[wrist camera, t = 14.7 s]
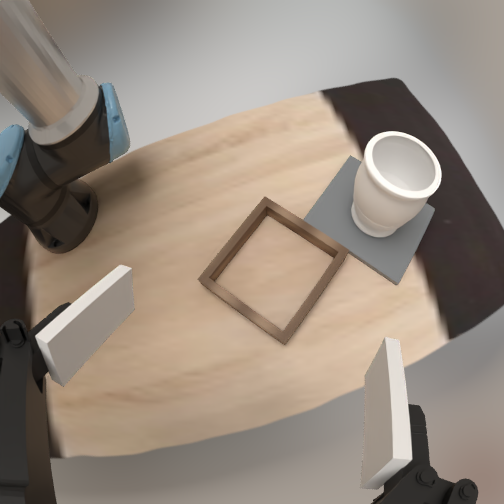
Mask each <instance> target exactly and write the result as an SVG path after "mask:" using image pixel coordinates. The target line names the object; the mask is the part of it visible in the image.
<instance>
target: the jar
mask: <svg viewBox="0 0 504 504" xmlns="http://www.w3.org/2000/svg"><path fill="white" fill-rule="evenodd" d="M440 182H441V169H440V165H439V162H438V160H437V158H436V157H435V155H434V154H433V152H432V151H431V150H430V149H429V148H428V147H427V146H426V145H425V144H424V143H422V142H421V141H420V140H418V139H416V138H415V137H413V136H410V135H408V134H405V133H401V132H383V133H380V134H378V135H376V136H374V137H373V138H372V139H371V140H370V141H369V143H368V145H367V146H366V149H365V153H364V159H363V161H362V162H361V164H360V166H359V168H358V171H357V174H356V178H355V183H354V195H353V201H354V202H353V204H352V208H351V213H352V218H353V220H354V222H355V224H356V225H357V227H358V228H359V229H360V230H361V231H363V232H364V233H366V234H367V235H370V236H373V237H387V236H389V235H391V234H393V233H394V232H395V231H396V230H397V228H399V227H401V226H403V225H404V224H405V223H406V222H408V221H410V220H411V219H412V218H414V217H415V216H416V215H417V214H418V213H419V212H420V210H421V209H422V208H423V206H424V205H425V203H426V201H427V199H428V197H429V196H431V195H432V194H433V193H434V192H435V191H436V190H437V188H438V187H439V185H440Z"/></svg>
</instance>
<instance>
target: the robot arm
mask: <svg viewBox="0 0 504 504" xmlns="http://www.w3.org/2000/svg"><path fill="white" fill-rule="evenodd" d="M0 93H1V94H2V95H3V96H4V97H5V98H6V99H7V100H8V101H9V102H10V103H11V104H12V105H13V106H14V107H15V108H16V109H17V110H18V111H19V112H20V113H21V114H22V115H23V116H24V117H25V118H26V119H27V120H28V121H29V125H28V129H27V130H24V128H23V127H22V126H19V125H17V124H16V125H11V126H9V127H7V128H6V129H5V130H4V131H2V132H1V134H0V207H1V208H3V209H4V210H5V211H7V212H8V213H10V214H11V215H13V216H14V217H16V218H17V219H19V220H20V221H21V222H23V223H25V224H26V225H27V226H28V227H29V228H30V230H31V232H32V233H33V235H34V236H35V238H36V239H37V241H38V242H39V244H40V245H41V246H43V247H44V248H46V249H47V250H49V251H51V252H53V253H64V252H67V251H70V250H72V249H73V248H75V247H76V246H78V245H79V244H80V243H81V242H82V241H83V240H84V239H85V237H86V236H87V235H88V233H89V232H90V230H91V228H92V226H93V224H94V222H95V219H96V215H97V209H98V203H97V198H96V195H95V193H94V191H93V190H92V189H91V188H90V187H89V186H88V185H87V184H86V183H85V182H83V181H81V180H78V179H79V178H80V177H82V176H84V175H86V174H88V173H90V172H92V171H94V170H96V169H98V168H100V167H102V166H104V165H106V164H108V163H111V162H112V161H113V160H114V159H116V158H118V157H119V156H121V155H123V154H125V153H126V152H127V151H128V149H129V147H130V138H129V134H128V130H127V127H126V123H125V120H124V116H123V113H122V110H121V107H120V104H119V100H118V97H117V94H116V92H115V89H114V87H113V85H112V84H111V83H105V84H104V83H103V84H101V85H100V86H98V85H97V83H96V81H95V80H94V79H93V78H91V77H89V76H85V75H77V74H76V72H75V71H74V69H73V68H72V67H71V65H70V64H69V62H68V61H67V59H66V58H65V56H64V55H63V53H62V52H61V50H60V49H59V47H58V46H57V44H56V42H55V41H54V39H53V38H52V36H51V35H50V33H49V32H48V30H47V29H46V27H45V25H44V24H43V22H42V21H41V19H40V18H39V16H38V14H37V13H36V12H35V10H34V8H33V6H32V5H31V3H30V2H29V0H0ZM134 310H135V308H134V296H133V281H132V268H130V267H126V266H123V265H119V266H118V267H116V268H115V269H114V270H113V271H111V272H110V273H109V274H108V275H106V276H105V277H104V278H103V279H101V280H100V281H99V282H98V283H97V284H95V285H94V286H93V287H92V288H90V289H89V290H88V291H87V292H86V293H84V294H83V295H82V296H81V297H80V298H78V299H77V300H76V301H75V302H74V303H72V304H71V303H69V302H68V303H65V304H63V305H61V306H59V307H57V308H56V309H55V310H54V311H53V312H52V313H50V314H49V315H48V316H47V317H46V318H44V319H43V320H42V321H41V322H40V323H39V324H37V325H36V326H35V327H34V328H33V329H32V330H30V331H29V332H27V329H26V326H25V324H24V322H23V321H22V320H19V319H11V320H8V321H6V322H5V323H4V324H3V325H2V326H1V328H0V331H1V334H2V336H1V335H0V504H57V503H56V497H55V491H54V486H53V479H52V472H51V463H50V455H49V444H48V431H47V412H46V378H45V374H46V373H47V372H48V371H49V374H50V376H51V378H52V380H54V381H55V382H57V383H58V384H60V385H61V386H63V387H64V386H65V385H66V383H67V382H68V381H69V380H70V379H71V378H72V377H73V376H74V374H75V373H76V372H77V371H78V370H79V369H80V368H81V367H82V366H83V364H84V363H85V362H86V361H87V360H88V359H89V358H90V357H91V356H92V355H93V354H94V352H95V351H96V350H97V349H98V348H99V347H100V346H101V345H102V344H103V343H104V342H105V340H106V339H107V338H108V337H109V336H110V335H111V334H112V333H113V332H114V331H115V330H116V329H117V328H118V327H119V326H120V324H121V323H122V322H123V321H124V320H125V319H126V318H127V317H128V316H129V315H130V314H131V313H132V312H133V311H134ZM426 434H427V430H426V421H425V415H424V413H423V411H422V409H421V407H420V406H419V405H411V404H408V399H407V391H406V382H405V376H404V368H403V361H402V354H401V348H400V342H399V340H397V339H392V338H388V337H385V338H384V340H383V342H382V344H381V346H380V348H379V350H378V352H377V354H376V356H375V358H374V359H373V361H372V363H371V365H370V367H369V369H368V371H367V372H366V374H365V416H364V444H363V460H362V474H361V485H360V488H366V489H379V488H380V487H381V486H382V485H384V492H383V493H382V494H381V495H379V496H378V497H377V498H376V499H374V500H373V501H374V502H373V503H371V504H476V500H477V497H478V489H477V486H476V485H475V483H474V482H473V481H471V480H469V479H461V480H459V481H458V482H457V483H452V482H450V481H447V480H444V479H441V478H439V477H438V475H437V472H436V471H435V469H433V467H431V466H430V461H429V449H428V439H427V435H426Z"/></svg>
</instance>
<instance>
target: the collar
mask: <svg viewBox="0 0 504 504" xmlns="http://www.w3.org/2000/svg"><path fill="white" fill-rule="evenodd" d="M267 215H269V216H270V217H272V218H274V219H275V220H277V221H278V222H280V223H281V224H283V225H285V226H286V227H288V228H289V229H291V230H292V231H294V232H295V233H297V234H299V235H300V236H302V237H303V238H305V239H306V240H308V241H309V242H311V243H312V244H314V245H316V246H317V247H319V248H320V249H322V250H323V251H325V252H326V253H328V254H329V255H331V256H332V257H334V260H333V261H332V263H331V264H330V266H329V267H328V269H327V270H326V272H325V273H324V275H323V276H322V277H321V279H320V280H319V282H318V283H317V285H316V286H315V288H314V289H313V291H312V292H311V293H310V295H309V296H308V298H307V299H306V301H305V302H304V303H303V305H302V306H301V308H300V309H299V310H298V312H297V313H296V315H295V316H294V317H293V319H292V320H291V321H290V323H289V324H288V326H287V327H286V328H285V330H284V331H281V330H280V329H279V328H277V327H276V326H274V325H273V324H272V323H270V322H269V321H267V320H266V319H265V318H263V317H262V316H260V315H259V314H258V313H256V312H255V311H253V310H252V309H251V308H249V307H248V306H247V305H245V304H244V303H242V302H241V301H240V300H238V299H237V298H236V297H234V296H233V295H232V294H230V293H229V292H228V291H226V290H225V289H223V288H222V287H221V286H219V285H218V284H217V283H215V282H214V281H215V280H216V279H217V277H218V276H219V275H220V273H221V272H222V271H223V270H224V268H225V267H226V266H227V265H228V263H229V262H230V261H231V260H232V258H233V257H234V256H235V255H236V253H237V252H238V251H239V249H240V248H241V247H242V246H243V244H244V243H245V242H246V241H247V239H248V238H249V237H250V236H251V234H252V233H253V232H254V231H255V229H256V228H257V227H258V226H259V224H260V223H261V222H262V221H263V219H264V218H265V217H266V216H267ZM348 252H349V249H347V248H346V247H344V246H343V245H341V244H340V243H338V242H337V241H335V240H333V239H332V238H330V237H329V236H327V235H326V234H324V233H323V232H321V231H319V230H318V229H316V228H315V227H313V226H312V225H310V224H308V223H307V222H305V221H304V220H302V219H301V218H299V217H297V216H296V215H294V214H293V213H291V212H289V211H288V210H286V209H284V208H283V207H281V206H280V205H278V204H276V203H275V202H273V201H271V200H270V199H268V198H267V197H264V198H263V199H262V200H261V202H260V203H259V204H258V205H257V206H256V208H255V209H254V210H253V211H252V213H251V214H250V215H249V216H248V217H247V219H246V220H245V221H244V222H243V224H242V225H241V226H240V227H239V228H238V230H237V231H236V232H235V233H234V235H233V236H232V237H231V238H230V240H229V241H228V242H227V243H226V245H225V246H224V247H223V248H222V250H221V251H220V252H219V253H218V254H217V256H216V257H215V258H214V259H213V261H212V262H211V263H210V264H209V266H208V267H207V268H206V269H205V271H204V272H203V273H202V275H201V276H200V277H199V278H198V280H199V281H200V283H201V284H202V285H204V286H205V287H206V288H207V289H209V290H210V291H211V292H213V293H214V294H215V295H217V296H218V297H219V298H221V299H222V300H223V301H225V302H226V303H227V304H229V305H230V306H231V307H233V308H234V309H235V310H237V311H238V312H239V313H241V314H242V315H244V316H245V317H246V318H248V319H249V320H250V321H252V322H253V323H254V324H256V325H257V326H259V327H260V328H261V329H263V330H264V331H266V332H267V333H268V334H270V335H271V336H273V337H274V338H275V339H277V340H278V341H280V342H281V343H282V344H284V345H285V344H286V343H287V341H288V340H289V338H290V337H291V336H292V334H293V333H294V332H295V330H296V329H297V327H298V326H299V325H300V323H301V322H302V320H303V319H304V318H305V316H306V315H307V313H308V312H309V311H310V309H311V308H312V306H313V305H314V303H315V302H316V300H317V299H318V298H319V296H320V295H321V293H322V292H323V290H324V289H325V287H326V286H327V284H328V283H329V281H330V280H331V278H332V277H333V275H334V274H335V272H336V271H337V269H338V268H339V266H340V265H341V263H342V262H343V260H344V259H345V257H346V255H347V254H348Z"/></svg>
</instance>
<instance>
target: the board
mask: <svg viewBox="0 0 504 504" xmlns="http://www.w3.org/2000/svg"><path fill="white" fill-rule="evenodd" d="M360 164H361V161H359V160H357V159H356V158H354V157H352V156H351V155H350V157H349V158H348V159H347V161H346V162H345V164H344V165H343V166H342V168H341V169H340V170H339V172H338V173H337V175H336V176H335V177H334V179H333V180H332V181H331V183H330V184H329V186H328V187H327V188H326V190H325V191H324V192H323V194H322V195H321V197H320V198H319V199H318V201H317V202H316V203H315V205H314V206H313V207H312V209H311V210H310V211H309V213H308V214H307V216H306V217H305V218H304V221H305V222H307V223H308V224H310V225H312V226H313V227H315V228H316V229H318V230H319V231H321V232H323V233H324V234H326V235H327V236H329V237H330V238H332V239H333V240H335V241H337V242H338V243H340V244H341V245H343V246H344V247H346V248H347V249H349V252H348V253H349V254H351V255H352V256H354V257H355V258H357V259H358V260H360V261H361V262H363V263H364V264H366V265H367V266H369V267H370V268H372V269H373V270H375V271H376V272H378V273H379V274H381V275H382V276H383V277H385V278H386V279H388V280H389V281H391V282H392V283H394V284H395V285H397V284H399V282H400V280H401V278H402V276H403V274H404V272H405V271H406V269H407V267H408V265H409V263H410V261H411V259H412V257H413V255H414V253H415V251H416V249H417V247H418V245H419V243H420V241H421V239H422V237H423V235H424V233H425V230H426V228H427V226H428V224H429V222H430V220H431V217H432V215H433V213H434V211H435V209H434V208H433V207H431V206H430V205H428V204H427V203H425V205H424V206H423V208H422V209H421V210H420V212H419V213H418V214H417V215H416V216H415V217H414V218H412V219H411V220H410V221H408V222H406V223H405V224H404V225H403V226H401V227H399V228H397V230H396V231H395V232H394V233H393V234H391V235H389V236H387V237H373V236H370V235H367V234H366V233H364V232H363V231H361V230H360V229H359V228H358V227H357V225H356V224H355V222H354V220H353V218H352V213H351V208H352V204H353V202H354V201H353V195H354V183H355V178H356V174H357V171H358V168H359V166H360Z"/></svg>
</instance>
